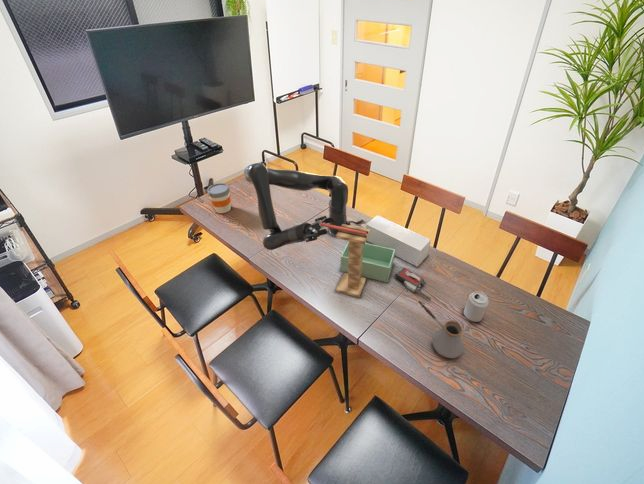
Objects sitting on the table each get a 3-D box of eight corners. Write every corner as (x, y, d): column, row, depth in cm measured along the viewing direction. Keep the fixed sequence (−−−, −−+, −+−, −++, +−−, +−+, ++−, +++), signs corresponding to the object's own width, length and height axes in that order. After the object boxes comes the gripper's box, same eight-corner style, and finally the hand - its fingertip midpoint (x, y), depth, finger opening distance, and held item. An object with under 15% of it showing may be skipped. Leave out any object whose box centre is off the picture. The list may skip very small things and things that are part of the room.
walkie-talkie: (391, 279, 155) (429, 302, 144) (392, 273, 152) (430, 296, 141) (401, 269, 160) (438, 291, 149) (402, 263, 158) (440, 284, 147)
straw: (319, 226, 136) (319, 223, 136) (320, 224, 137) (320, 221, 137) (365, 236, 131) (366, 233, 130) (366, 234, 132) (366, 231, 131)
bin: (340, 270, 160) (340, 256, 154) (348, 253, 170) (349, 239, 164) (387, 282, 154) (389, 268, 148) (393, 263, 164) (395, 249, 158)
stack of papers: (427, 255, 168) (431, 239, 162) (417, 266, 162) (420, 250, 155) (376, 230, 185) (377, 215, 178) (364, 239, 178) (365, 224, 172)
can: (467, 305, 143) (474, 286, 136) (484, 314, 139) (492, 295, 132) (460, 316, 138) (467, 297, 131) (478, 326, 134) (486, 307, 127)
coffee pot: (467, 347, 127) (477, 324, 118) (452, 368, 120) (461, 344, 111) (420, 315, 139) (425, 291, 130) (404, 332, 132) (409, 308, 123)
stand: (335, 291, 149) (334, 235, 130) (342, 274, 158) (343, 220, 138) (360, 297, 146) (364, 242, 127) (366, 280, 155) (371, 225, 135)
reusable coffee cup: (212, 205, 206) (206, 184, 197) (233, 202, 209) (228, 181, 200) (212, 216, 196) (206, 195, 187) (234, 212, 199) (229, 191, 190)
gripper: (288, 236, 137) (319, 227, 128) (302, 217, 147) (331, 208, 139) (298, 249, 139) (328, 242, 131) (311, 230, 150) (340, 222, 142)
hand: (330, 224), depth 135 cm, fingers open, 8 cm apart
